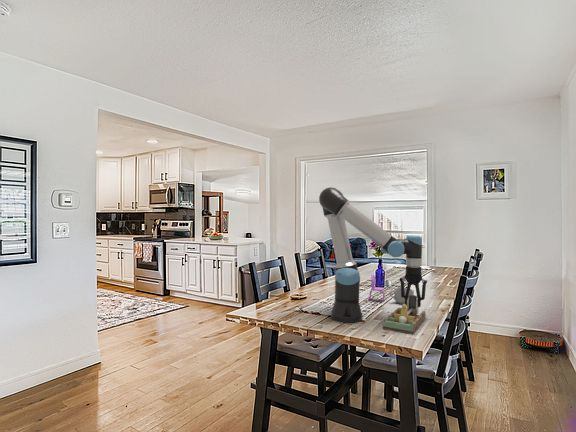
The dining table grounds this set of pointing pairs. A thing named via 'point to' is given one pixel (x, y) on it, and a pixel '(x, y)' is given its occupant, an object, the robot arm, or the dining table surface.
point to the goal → (398, 324)
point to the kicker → (404, 310)
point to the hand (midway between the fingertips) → (412, 312)
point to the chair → (376, 288)
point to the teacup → (398, 295)
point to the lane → (417, 322)
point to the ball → (402, 319)
